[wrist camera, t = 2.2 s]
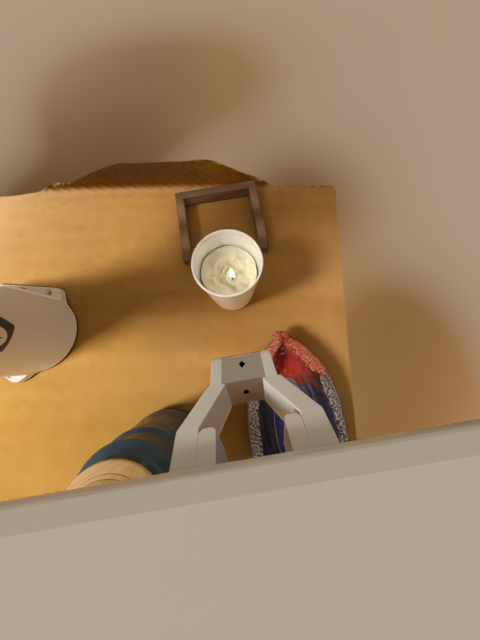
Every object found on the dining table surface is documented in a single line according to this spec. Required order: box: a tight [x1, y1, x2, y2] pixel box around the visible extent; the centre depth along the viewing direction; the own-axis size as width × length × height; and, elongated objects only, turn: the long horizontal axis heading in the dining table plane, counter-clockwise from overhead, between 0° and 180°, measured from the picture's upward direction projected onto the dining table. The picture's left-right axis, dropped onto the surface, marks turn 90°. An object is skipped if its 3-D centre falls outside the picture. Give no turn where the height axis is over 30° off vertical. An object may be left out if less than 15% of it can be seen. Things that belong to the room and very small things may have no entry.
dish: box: [247, 331, 348, 458], centre depth 29 cm, size 16×31×5 cm, turn 4°
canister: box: [66, 409, 189, 490], centre depth 22 cm, size 13×13×18 cm
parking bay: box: [175, 180, 269, 265], centre depth 37 cm, size 16×17×2 cm
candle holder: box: [191, 229, 263, 310], centre depth 30 cm, size 10×10×12 cm
